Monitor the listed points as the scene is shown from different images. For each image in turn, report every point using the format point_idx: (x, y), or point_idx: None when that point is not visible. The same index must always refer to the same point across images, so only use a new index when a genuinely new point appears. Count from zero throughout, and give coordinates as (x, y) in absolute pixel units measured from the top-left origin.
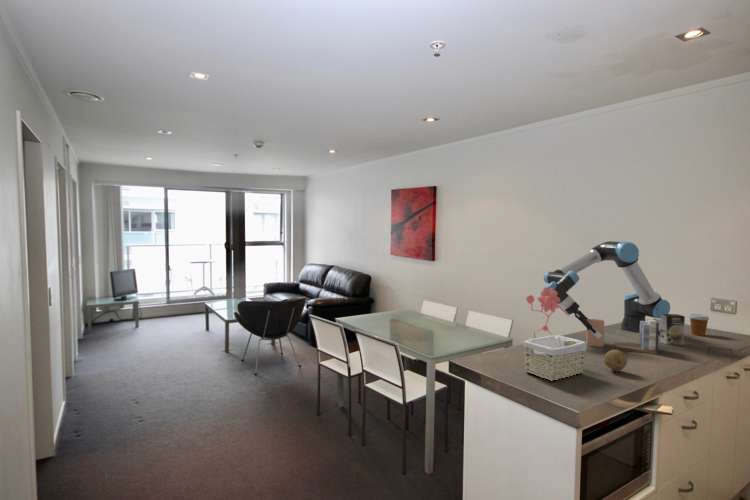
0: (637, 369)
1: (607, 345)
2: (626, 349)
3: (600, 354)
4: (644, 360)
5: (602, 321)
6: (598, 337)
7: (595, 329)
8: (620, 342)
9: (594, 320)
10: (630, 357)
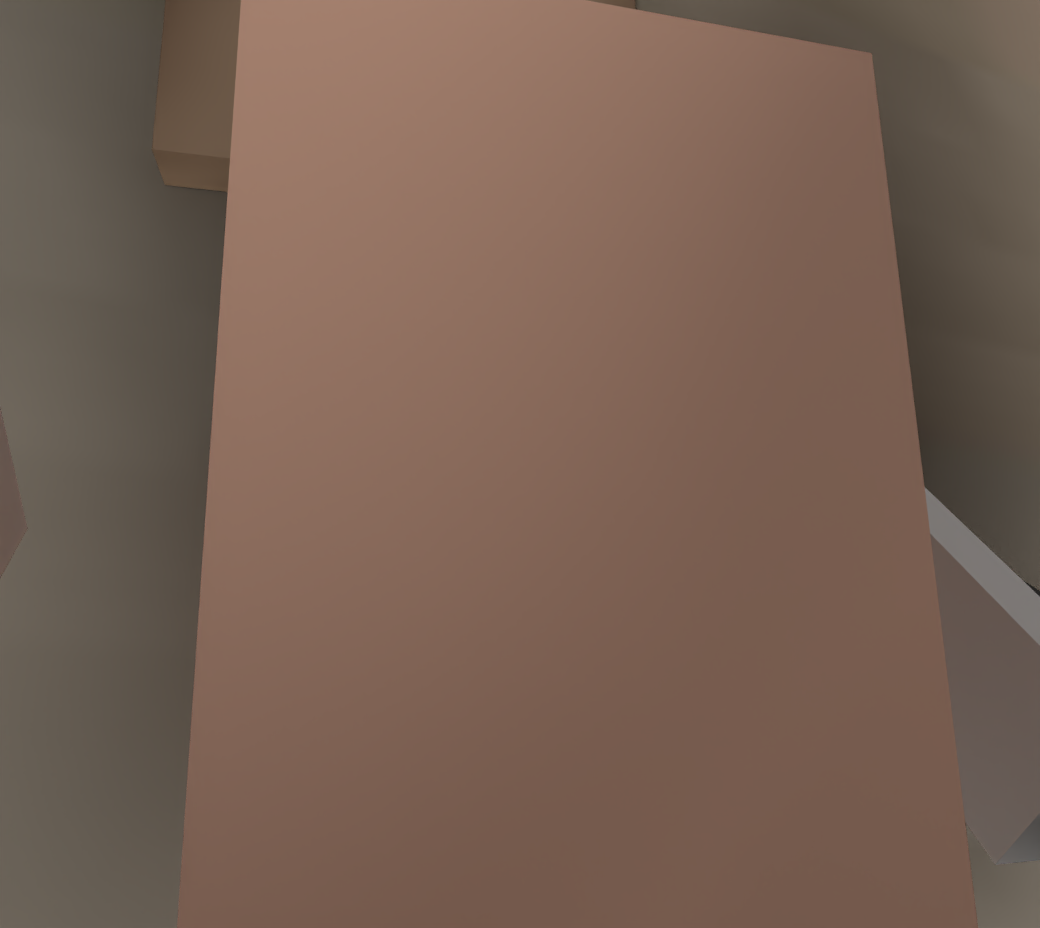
0: None
1: None
2: None
3: (1021, 561)
4: (1007, 31)
5: (869, 139)
6: None
7: (1030, 607)
8: (191, 40)
9: (787, 605)
10: (959, 159)
